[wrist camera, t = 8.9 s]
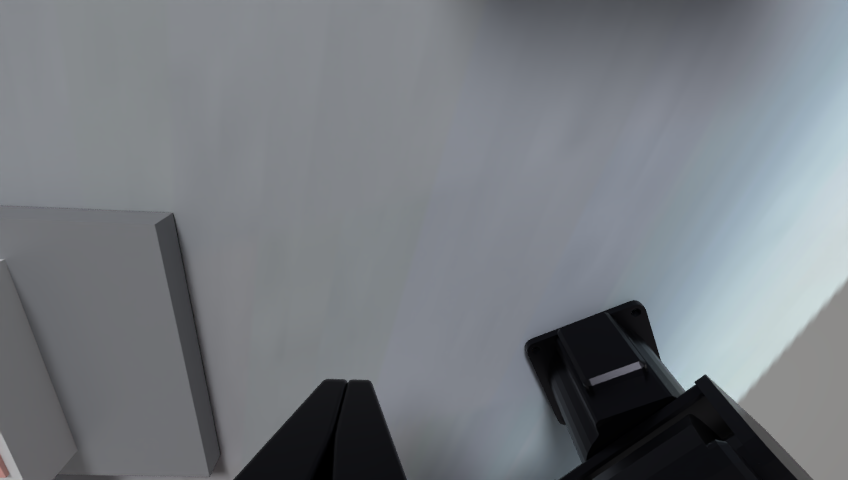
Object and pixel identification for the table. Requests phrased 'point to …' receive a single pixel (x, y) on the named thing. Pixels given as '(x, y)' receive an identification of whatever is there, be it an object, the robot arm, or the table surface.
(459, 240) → the table surface
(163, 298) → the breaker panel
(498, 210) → the table surface
